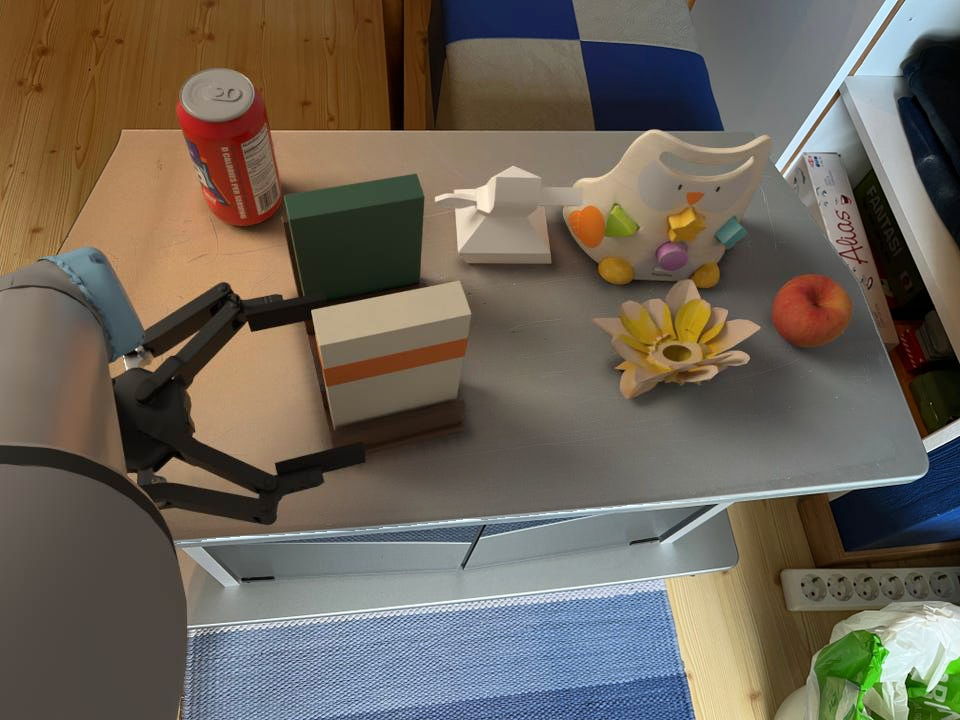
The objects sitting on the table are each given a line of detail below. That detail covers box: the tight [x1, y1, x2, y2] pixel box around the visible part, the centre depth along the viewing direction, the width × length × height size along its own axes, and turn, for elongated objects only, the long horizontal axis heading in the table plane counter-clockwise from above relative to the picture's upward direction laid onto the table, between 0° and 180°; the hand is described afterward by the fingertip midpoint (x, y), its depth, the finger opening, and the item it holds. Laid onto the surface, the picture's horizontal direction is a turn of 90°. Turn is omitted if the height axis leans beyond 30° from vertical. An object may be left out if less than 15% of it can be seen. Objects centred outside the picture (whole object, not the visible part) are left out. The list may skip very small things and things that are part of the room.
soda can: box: [176, 67, 283, 227], centre depth 73 cm, size 8×8×15 cm
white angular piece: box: [434, 165, 583, 265], centre depth 75 cm, size 8×14×14 cm, turn 94°
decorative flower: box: [590, 279, 761, 400], centre depth 72 cm, size 15×11×10 cm
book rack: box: [280, 214, 467, 456], centre depth 67 cm, size 18×12×13 cm, turn 17°
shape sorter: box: [562, 129, 774, 289], centre depth 75 cm, size 20×10×18 cm, turn 92°
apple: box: [771, 273, 854, 348], centre depth 76 cm, size 7×7×8 cm
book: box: [311, 280, 472, 430], centre depth 61 cm, size 3×11×18 cm, turn 107°
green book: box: [283, 173, 426, 302], centre depth 67 cm, size 3×11×16 cm, turn 107°
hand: (345, 374), depth 59 cm, fingers open, 13 cm apart
